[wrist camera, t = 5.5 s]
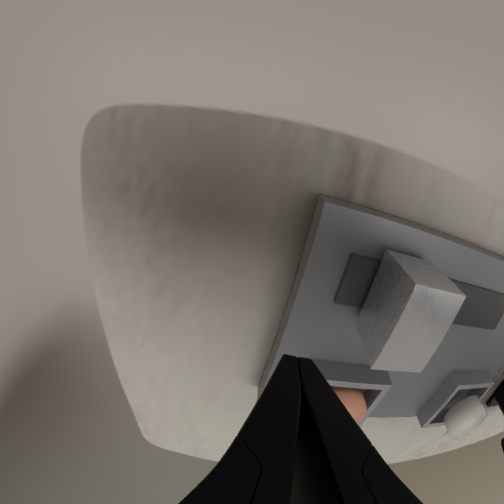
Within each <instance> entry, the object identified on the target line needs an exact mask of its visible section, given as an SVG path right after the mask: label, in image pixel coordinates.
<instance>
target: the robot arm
mask: <svg viewBox="0 0 504 504" xmlns="http://www.w3.org/2000/svg"><path fill="white" fill-rule="evenodd" d="M486 405H487V407H490V406H495V405H499V407H500V409H501V411H502V413H503V415H504V382H503V384H502V385H501V386H500V387H499V389H498V390H497V391H496V392H495V394H494V395H493V396H492V397H491V398H490V400H489V401H488V402H487V403H486ZM501 442H502V443H501V445H502V449H503V452H504V438H503V439H502V440H501ZM178 504H423V503H422V502H421V501H420V500H419V499H418V498H417V497H416V496H415V495H414V494H413V493H412V492H411V491H410V490H409V488H407V486H406V485H405V484H404V483H403V482H402V481H401V480H400V479H399V478H398V477H397V475H396V474H395V473H394V472H393V471H392V470H391V469H390V467H389V466H388V465H387V463H386V462H385V461H384V460H383V458H382V457H381V456H380V454H379V453H378V452H377V450H376V449H375V447H374V446H372V443H371V442H370V441H369V439H368V438H367V436H366V435H365V434H364V432H363V431H362V429H361V428H360V427H359V425H358V424H357V422H356V421H355V420H354V418H353V417H352V415H351V414H350V413H349V411H348V410H347V408H346V407H345V406H344V404H343V403H342V401H341V400H340V399H339V397H338V396H337V394H336V393H335V391H334V390H333V389H332V387H331V386H330V384H329V383H328V382H327V380H326V379H325V377H324V376H323V374H322V373H321V372H320V370H319V369H318V367H317V366H316V364H315V363H314V362H313V360H312V359H310V358H305V357H296V356H294V355H288V354H283V355H282V357H281V358H280V360H279V362H278V364H277V366H276V368H275V370H274V372H273V373H272V375H271V377H270V379H269V381H268V383H267V384H266V386H265V388H264V390H263V392H262V393H261V395H260V397H259V399H258V400H257V402H256V404H255V406H254V407H253V409H252V411H251V413H250V414H249V416H248V418H247V419H246V421H245V423H244V424H243V426H242V428H241V429H240V431H239V433H238V435H237V436H236V437H235V439H234V440H233V442H232V444H231V445H230V447H229V448H228V450H227V451H226V453H225V454H224V455H223V457H222V458H221V460H220V461H219V462H218V463H217V465H216V466H215V467H214V468H213V469H212V470H211V471H210V473H209V474H208V475H207V476H206V477H205V478H204V479H203V480H202V481H201V482H200V483H199V484H198V485H197V486H196V487H195V488H194V489H193V490H192V491H191V492H190V493H189V494H188V495H187V496H186V497H185V498H184V499H183V500H182V501H181V502H180V503H178Z"/></svg>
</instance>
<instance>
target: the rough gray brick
mask: <svg viewBox="0 0 504 504" xmlns="http://www.w3.org/2000/svg"><path fill="white" fill-rule="evenodd" d="M465 298H466V295H465V294H464V293H463V292H462V291H461V290H460V289H459V288H458V287H457V286H456V285H455V284H454V283H453V282H452V281H451V280H450V279H449V278H448V277H447V276H446V275H445V274H444V273H443V272H442V271H441V270H440V269H439V268H438V267H437V266H436V265H434V264H433V263H432V262H430V261H426V260H423V259H420V258H416V257H413V256H409V255H406V254H402V253H398V252H395V251H391V250H388V249H386V251H385V254H384V256H383V259H382V262H381V264H380V267H379V269H378V272H377V274H376V277H375V279H374V282H373V284H372V286H371V289H370V291H369V294H368V296H367V298H366V300H365V303H364V305H363V307H362V309H361V312H360V314H359V316H358V318H357V320H356V322H355V324H356V327H357V330H358V332H359V335H360V338H361V341H362V344H363V347H364V350H365V353H366V356H367V359H368V362H369V365H370V369H374V370H386V371H400V372H419V373H421V371H422V370H423V369H424V367H425V366H426V364H427V363H428V361H429V360H430V358H431V357H432V355H433V354H434V352H435V351H436V349H437V348H438V346H439V344H440V343H441V341H442V339H443V338H444V336H445V334H446V333H447V331H448V329H449V328H450V326H451V324H452V322H453V321H454V319H455V317H456V315H457V313H458V311H459V310H460V308H461V306H462V304H463V302H464V300H465Z"/></svg>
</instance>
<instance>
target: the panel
mask: <svg viewBox="0 0 504 504" xmlns="http://www.w3.org/2000/svg"><path fill="white" fill-rule="evenodd" d="M386 249H388V250H391V251H395V252H398V253H402V254H406V255H409V256H413V257H416V258H420V259H423V260H426V261H430V262H432V263H433V264H434V265H436V266H437V267H438V268H439V269H440V270H441V271H442V272H443V273H444V274H445V275H446V276H447V277H448V278H449V279H450V280H451V281H452V282H453V283H454V284H455V285H456V286H457V287H458V288H459V289H460V290H461V291H462V292H463V293H464V294H465V295H466V298H465V300H464V302H463V304H462V306H461V308H460V310H459V311H458V313H457V315H456V317H455V319H454V321H453V322H452V324H451V326H450V328H449V329H448V331H447V333H446V334H445V336H444V338H443V339H442V341H441V343H440V344H439V346H438V348H437V349H436V351H435V352H434V354H433V355H432V357H431V358H430V360H429V361H428V363H427V364H426V366H425V367H424V369H423V370H422V371H421V373H419V372H400V371H386V370H374V369H370V365H369V362H368V359H367V356H366V353H365V350H364V347H363V344H362V341H361V338H360V335H359V332H358V330H357V327H356V324H355V322H356V320H357V318H358V316H359V314H360V312H361V309H362V307H363V305H364V303H365V300H366V298H367V296H368V294H369V291H370V289H371V286H372V284H373V282H374V279H375V277H376V274H377V272H378V269H379V267H380V264H381V262H382V259H383V256H384V254H385V251H386ZM283 354H288V355H294V356H296V357H305V358H310V359H312V360H313V362H314V363H315V364H316V366H317V367H318V369H319V370H320V372H321V373H322V374H323V376H324V377H325V379H326V380H327V382H328V383H329V384H330V386H337V387H347V388H359V389H362V391H363V395H364V399H365V403H366V407H367V415H366V417H365V418H364V419H363V420H362V421H361V422H360V423H358V425H359V427H360V425H361V424H362V423H363V422H364V421H365V420H366V418H367V417H410V416H417V417H418V420H419V422H420V425H421V428H424V427H433V426H441V425H445V423H444V420H443V419H444V416H445V415H446V413H447V412H448V411H449V410H450V409H451V408H452V407H453V406H454V405H456V404H457V403H458V402H460V401H461V400H463V399H465V398H467V397H469V396H472V395H477V396H478V397H479V399H480V400H481V399H482V398H483V397H484V396H485V394H486V393H487V392H488V391H489V390H490V388H491V387H492V386H493V384H494V383H495V382H494V380H493V379H494V378H495V376H496V375H497V374H498V372H499V371H500V370H501V368H502V367H503V365H504V257H502V256H499V255H497V254H495V253H492V252H490V251H488V250H485V249H483V248H480V247H478V246H476V245H473V244H471V243H468V242H466V241H463V240H460V239H458V238H455V237H453V236H450V235H447V234H445V233H442V232H439V231H436V230H434V229H431V228H428V227H425V226H422V225H420V224H417V223H414V222H411V221H408V220H405V219H402V218H399V217H396V216H393V215H390V214H386V213H383V212H380V211H377V210H374V209H370V208H367V207H364V206H360V205H357V204H353V203H350V202H346V201H343V200H339V199H336V198H332V197H328V196H325V195H321V194H319V197H318V200H317V204H316V208H315V211H314V215H313V219H312V222H311V226H310V229H309V233H308V236H307V240H306V243H305V247H304V250H303V254H302V257H301V260H300V264H299V267H298V270H297V274H296V277H295V280H294V283H293V287H292V290H291V293H290V296H289V299H288V302H287V305H286V309H285V312H284V315H283V318H282V321H281V324H280V327H279V330H278V333H277V336H276V339H275V342H274V344H273V347H272V350H271V353H270V356H269V359H268V362H267V365H266V367H265V370H264V373H263V376H262V378H261V381H260V384H259V387H258V396H257V400H258V399H259V397H260V395H261V393H262V392H263V390H264V388H265V386H266V384H267V383H268V381H269V379H270V377H271V375H272V373H273V372H274V370H275V368H276V366H277V364H278V362H279V360H280V358H281V357H282V355H283Z"/></svg>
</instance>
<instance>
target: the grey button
mask: <svg viewBox="0 0 504 504" xmlns="http://www.w3.org/2000/svg"><path fill="white" fill-rule="evenodd" d="M486 417H487V412H486V410H485V408H484V406H483V404H482V403H481V401H480V399H479V397H478V396H477V395H472V396H469V397H467V398H465V399H463V400H461V401H460V402H458V403H457V404H456V405H454V406H453V407H452V408H451V409H450V410H449V411H448V412H447V413H446V415H445V416H444V419H443V420H444V423H445V425H446V428H447V430H448V433H449V436H450V438H451V439H453V440H454V439H459V438H461V437H463V436H465V435H467V434H469V433H470V432H472V431H473V430H475V429H476V428H477V427H478V426H479V425H480V424H481V423H482V422H483V421H484V420H485V418H486Z"/></svg>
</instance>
